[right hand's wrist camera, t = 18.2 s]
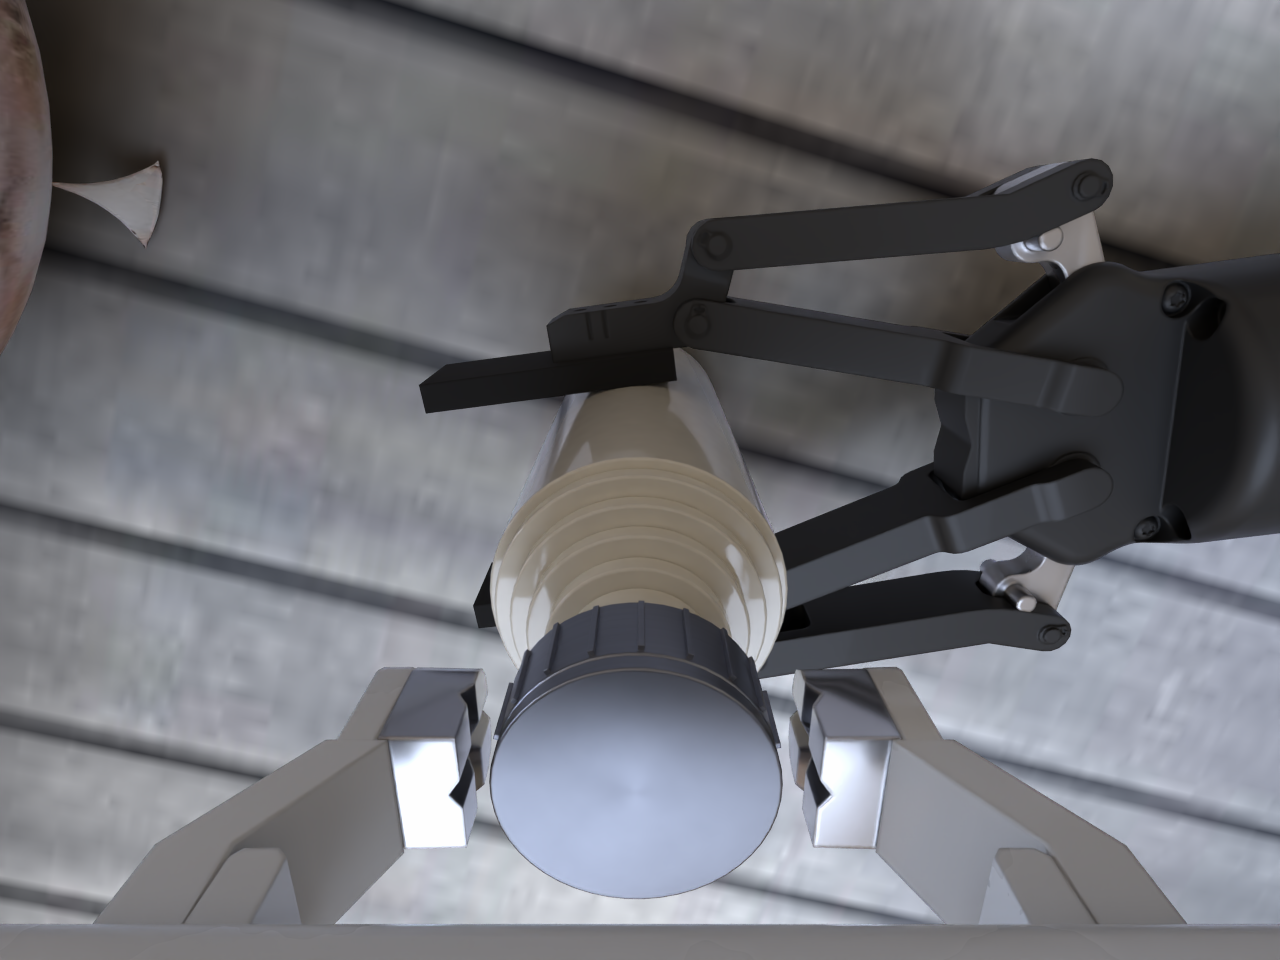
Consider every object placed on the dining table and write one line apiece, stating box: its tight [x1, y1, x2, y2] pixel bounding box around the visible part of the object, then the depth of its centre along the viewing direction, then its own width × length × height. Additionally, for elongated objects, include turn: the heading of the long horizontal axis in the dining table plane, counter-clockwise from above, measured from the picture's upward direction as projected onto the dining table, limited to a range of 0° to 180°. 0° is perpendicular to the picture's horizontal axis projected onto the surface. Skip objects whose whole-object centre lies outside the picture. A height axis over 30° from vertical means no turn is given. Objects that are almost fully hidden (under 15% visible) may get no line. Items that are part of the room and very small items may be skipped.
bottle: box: [490, 348, 788, 673], centre depth 18 cm, size 6×6×18 cm
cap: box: [489, 600, 783, 899], centre depth 10 cm, size 4×4×2 cm
